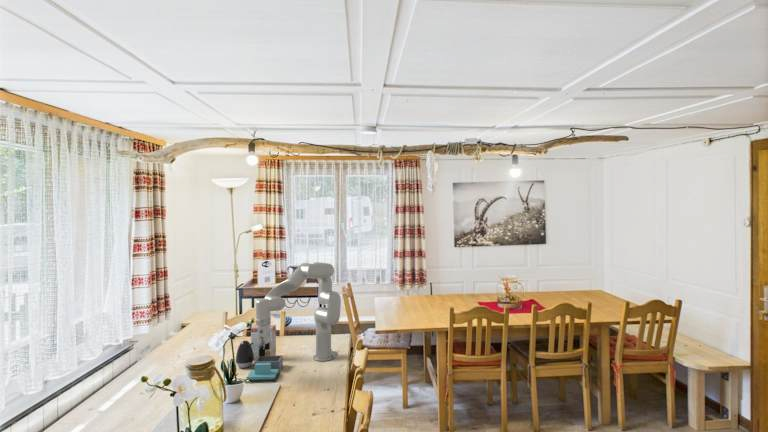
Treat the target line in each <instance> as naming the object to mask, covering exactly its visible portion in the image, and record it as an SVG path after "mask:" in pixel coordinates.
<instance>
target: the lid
mask: <svg viewBox="0 0 768 432" xmlns="http://www.w3.org/2000/svg"><path fill="white" fill-rule="evenodd" d="M278 371H279V369H271V363H256V364H255V370H254V369H252V370H250V371H249V373H248V374H247V376H246V378H245V381H246V380H272V379H275V377H276V375H277V373H279V372H280V371H279V372H278Z"/></svg>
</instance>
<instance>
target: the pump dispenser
mask: <svg viewBox="0 0 768 432" xmlns="http://www.w3.org/2000/svg"><path fill="white" fill-rule="evenodd" d="M252 344H253V342H252V343H251V342H250V341H249V340H247V339H246V340H245V339H244V340H243V341H241V342H240V343H239V345H238V347H237V350H236V355H235V363H236V364H235V365H237V367H238V368H241V369H247V368H249V367H251V366H252V364H254V361H253V360H254V354H253V350H252V347H251V345H252Z"/></svg>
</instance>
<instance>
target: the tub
mask: <svg viewBox="0 0 768 432" xmlns="http://www.w3.org/2000/svg"><path fill="white" fill-rule="evenodd" d="M283 357H284V355H282V354H280V355H279V354H276V356H258V358H257V359H256V360H255V361H253V370H255V364H256V363H271V369H279V371H278V373H279V372H281V370H282V368H283V366H284V365H283V364H284V363H283V362H284V360H283V359H284V358H283Z"/></svg>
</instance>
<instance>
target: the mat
mask: <svg viewBox="0 0 768 432" xmlns="http://www.w3.org/2000/svg"><path fill="white" fill-rule="evenodd" d="M280 374H281V371H279V372H278V373H277V375H276V377H275V379H272V380H249V381H250V382H252V383H251V384H256V383H257V384H261V383H262V384H265V383H276V382H277V380H278V378H279V376H280ZM245 384H248V383H247V382H246V383H245Z"/></svg>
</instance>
